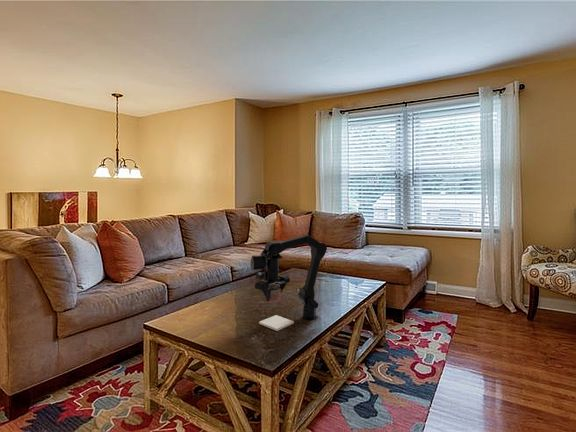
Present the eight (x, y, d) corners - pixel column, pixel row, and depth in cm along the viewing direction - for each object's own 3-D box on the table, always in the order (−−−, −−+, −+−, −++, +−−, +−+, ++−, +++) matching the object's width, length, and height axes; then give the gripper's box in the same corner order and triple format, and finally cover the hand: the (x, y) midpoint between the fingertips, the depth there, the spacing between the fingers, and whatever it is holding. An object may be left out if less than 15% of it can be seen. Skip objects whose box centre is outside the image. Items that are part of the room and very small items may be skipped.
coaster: (276, 316, 177) (276, 315, 177) (293, 323, 169) (293, 321, 169) (259, 323, 168) (259, 321, 168) (276, 331, 160) (276, 328, 160)
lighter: (265, 306, 165) (265, 286, 164) (264, 304, 169) (263, 284, 168) (281, 304, 167) (281, 284, 166) (280, 302, 171) (280, 282, 170)
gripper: (274, 261, 178) (274, 291, 180) (246, 269, 165) (247, 300, 166) (290, 265, 171) (290, 295, 172) (262, 273, 157) (263, 306, 159)
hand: (273, 299), depth 168 cm, fingers closed on lighter, 7 cm apart
